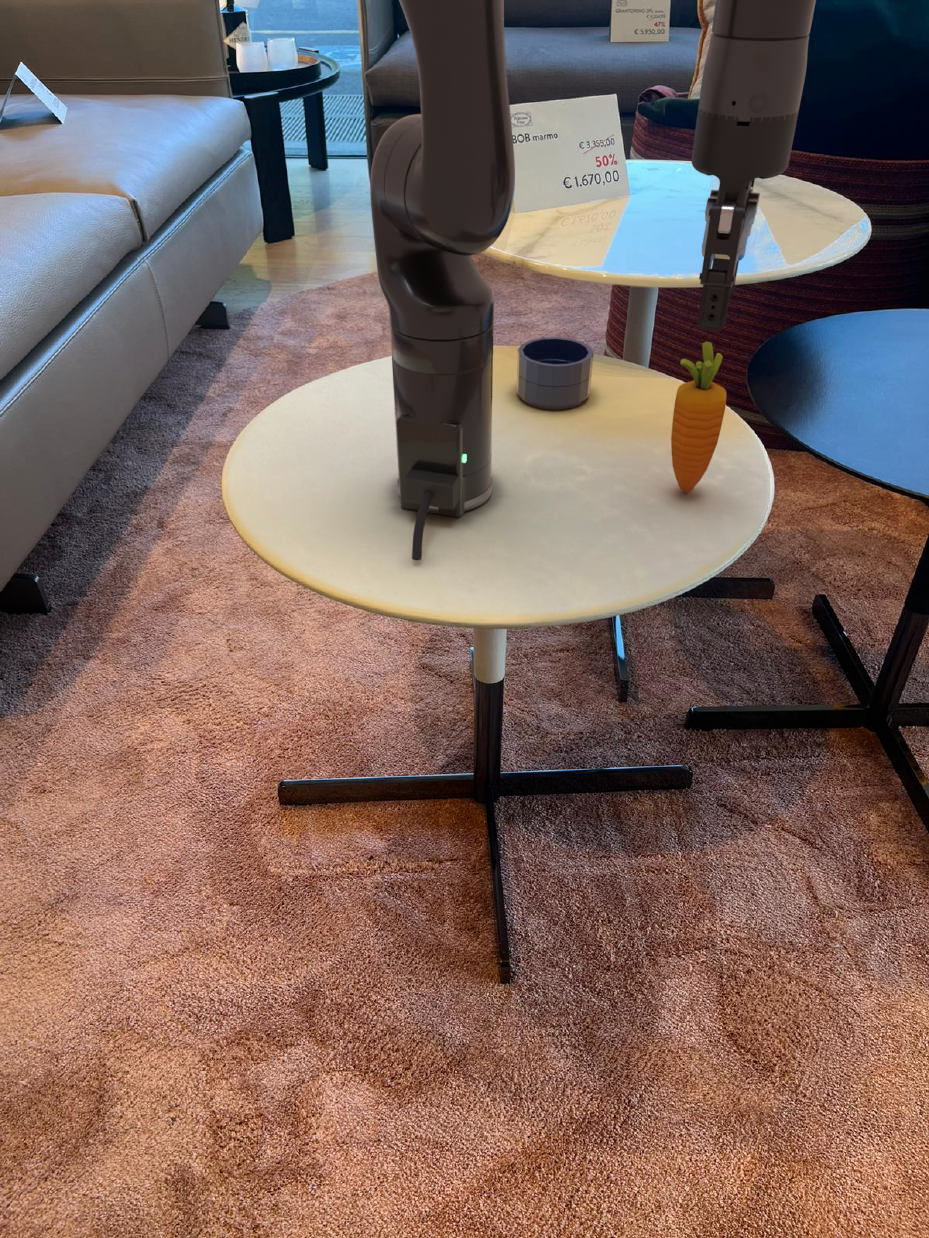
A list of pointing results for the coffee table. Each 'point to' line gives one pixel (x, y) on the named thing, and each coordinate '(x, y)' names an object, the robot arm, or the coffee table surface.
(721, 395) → the carrot
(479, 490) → the robot arm
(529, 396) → the cylindrical container
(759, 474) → the coffee table surface
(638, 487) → the coffee table surface
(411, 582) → the coffee table surface
